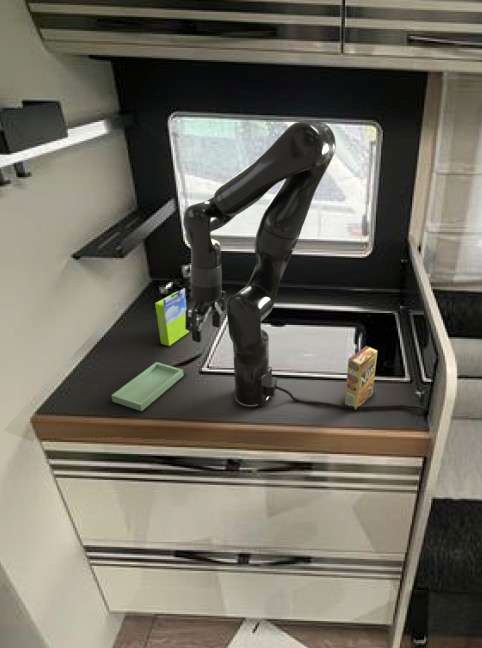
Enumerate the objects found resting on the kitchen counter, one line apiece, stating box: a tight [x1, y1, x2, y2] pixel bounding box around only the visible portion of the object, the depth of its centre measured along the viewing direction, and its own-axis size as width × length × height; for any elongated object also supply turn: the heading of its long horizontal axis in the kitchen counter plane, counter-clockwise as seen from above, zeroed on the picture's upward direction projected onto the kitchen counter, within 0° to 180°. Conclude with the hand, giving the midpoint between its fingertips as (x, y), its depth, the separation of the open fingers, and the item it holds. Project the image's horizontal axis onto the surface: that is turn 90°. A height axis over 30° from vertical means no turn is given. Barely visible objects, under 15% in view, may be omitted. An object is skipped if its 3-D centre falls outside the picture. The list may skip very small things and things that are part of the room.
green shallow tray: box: [111, 361, 185, 412], centre depth 112 cm, size 10×17×2 cm, turn 161°
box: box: [154, 287, 190, 347], centre depth 132 cm, size 11×4×17 cm, turn 161°
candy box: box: [344, 345, 378, 410], centre depth 111 cm, size 9×4×15 cm, turn 144°
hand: (207, 333), depth 108 cm, fingers open, 8 cm apart
